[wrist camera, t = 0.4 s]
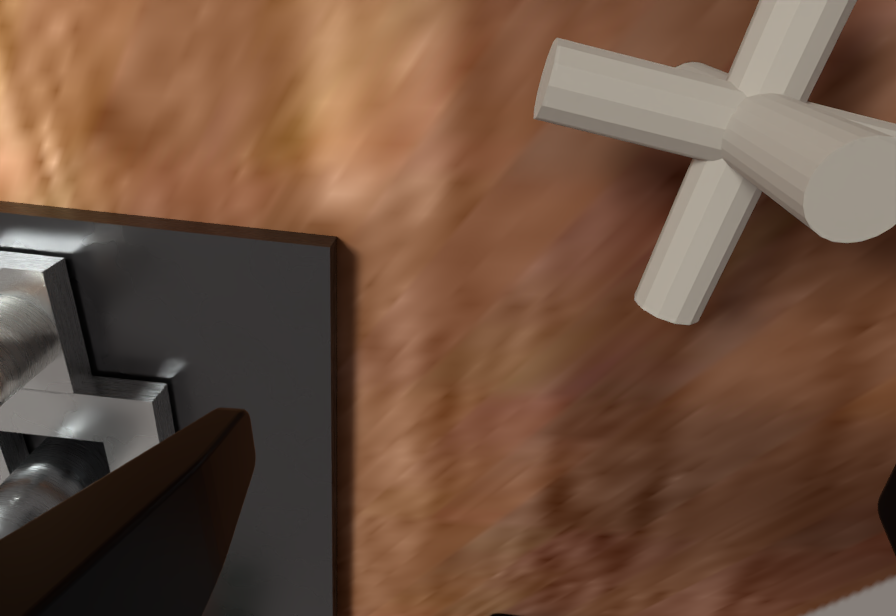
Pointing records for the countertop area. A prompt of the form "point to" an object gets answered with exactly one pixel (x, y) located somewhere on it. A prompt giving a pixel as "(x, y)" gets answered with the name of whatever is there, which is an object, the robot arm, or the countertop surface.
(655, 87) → the pipe connector
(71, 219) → the post base
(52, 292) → the metal knob latch
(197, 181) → the countertop surface
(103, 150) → the countertop surface
